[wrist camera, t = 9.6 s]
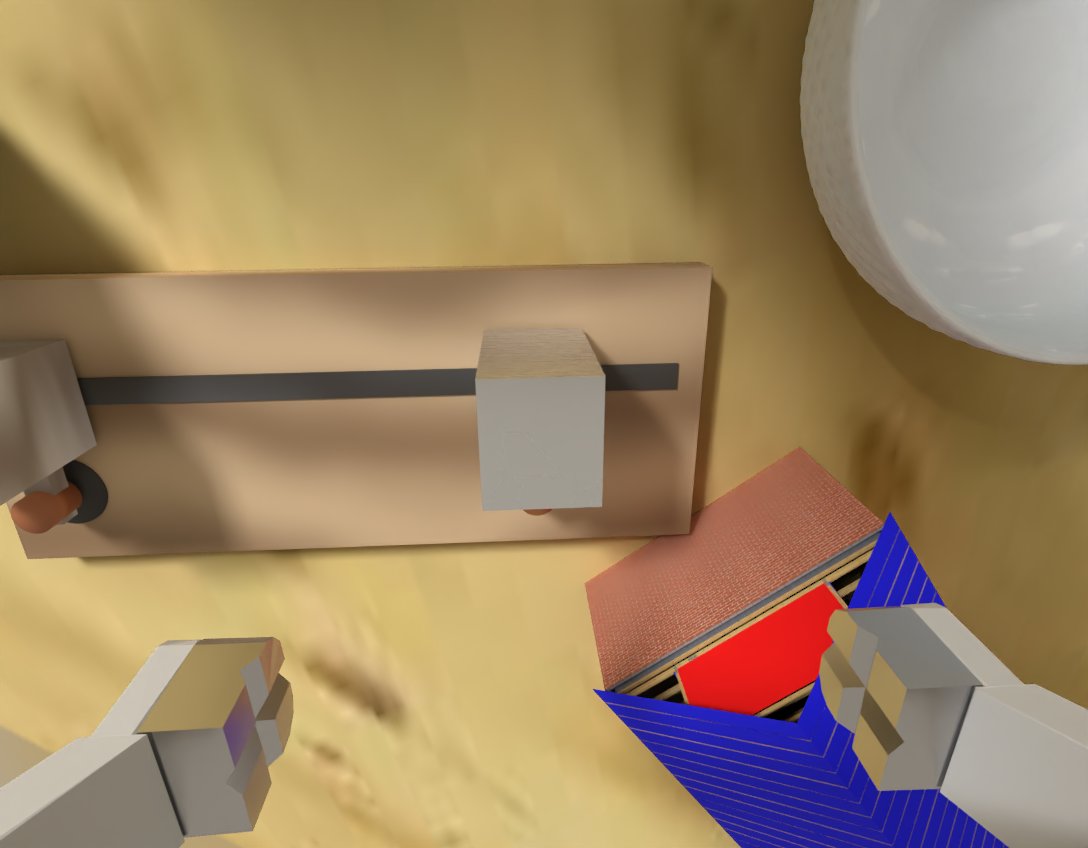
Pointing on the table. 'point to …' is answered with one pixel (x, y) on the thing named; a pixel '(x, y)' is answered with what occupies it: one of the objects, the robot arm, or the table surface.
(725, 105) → the table surface
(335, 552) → the table surface
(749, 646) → the house
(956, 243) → the cereal bowl
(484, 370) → the block
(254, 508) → the board
